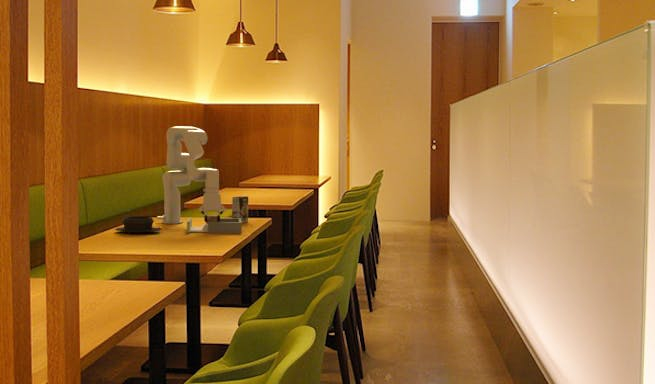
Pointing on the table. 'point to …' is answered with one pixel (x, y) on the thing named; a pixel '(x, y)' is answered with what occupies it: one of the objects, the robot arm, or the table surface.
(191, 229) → the tray
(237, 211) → the coffee box
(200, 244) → the table surface
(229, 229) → the frame
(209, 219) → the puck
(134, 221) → the casserole
